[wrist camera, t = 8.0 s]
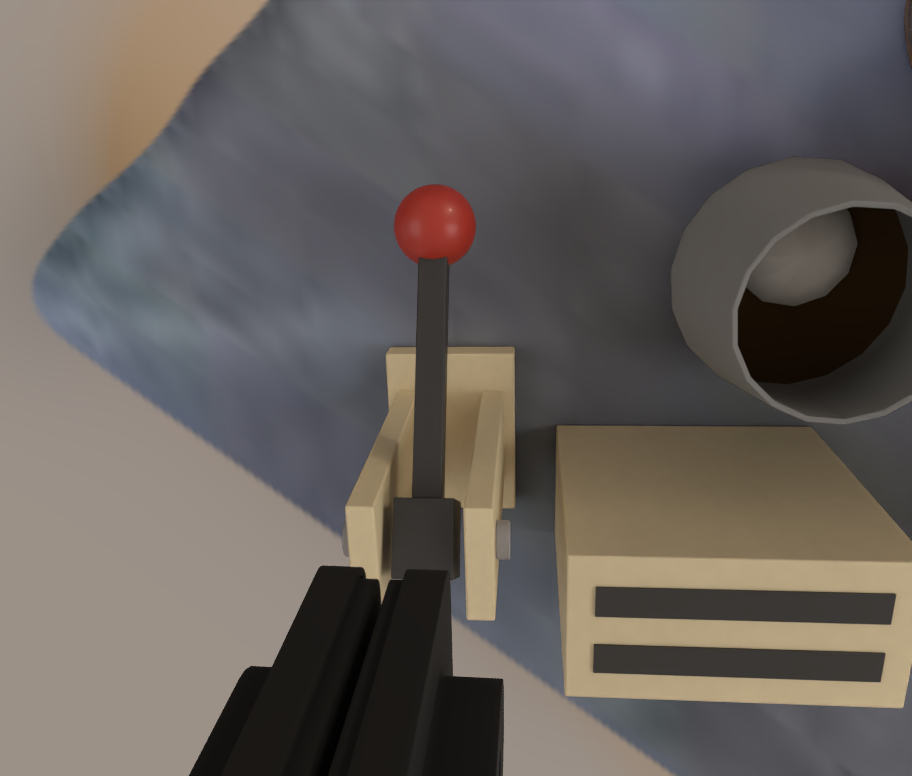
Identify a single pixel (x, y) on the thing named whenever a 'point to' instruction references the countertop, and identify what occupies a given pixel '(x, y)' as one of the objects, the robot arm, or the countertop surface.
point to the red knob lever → (430, 379)
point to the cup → (802, 289)
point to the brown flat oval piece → (908, 28)
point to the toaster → (726, 569)
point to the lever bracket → (466, 468)
